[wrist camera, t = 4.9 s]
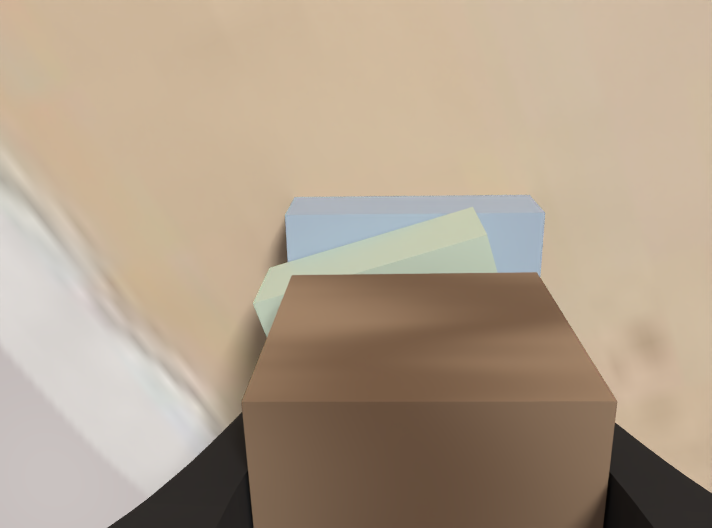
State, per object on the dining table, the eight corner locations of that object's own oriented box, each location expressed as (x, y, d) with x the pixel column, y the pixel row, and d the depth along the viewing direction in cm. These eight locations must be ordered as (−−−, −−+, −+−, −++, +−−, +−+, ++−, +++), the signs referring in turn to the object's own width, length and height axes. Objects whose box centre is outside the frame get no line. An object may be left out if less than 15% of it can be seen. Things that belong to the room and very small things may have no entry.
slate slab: (525, 191, 17) (545, 212, 15) (512, 393, 19) (528, 437, 17) (296, 193, 18) (285, 215, 16) (307, 393, 20) (297, 435, 17)
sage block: (472, 206, 15) (487, 234, 13) (523, 390, 17) (543, 441, 15) (269, 267, 16) (252, 303, 14) (336, 438, 17) (330, 494, 15)
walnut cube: (536, 272, 12) (617, 401, 8) (523, 479, 14) (585, 682, 9) (291, 274, 12) (241, 402, 8) (305, 478, 14) (267, 675, 10)
